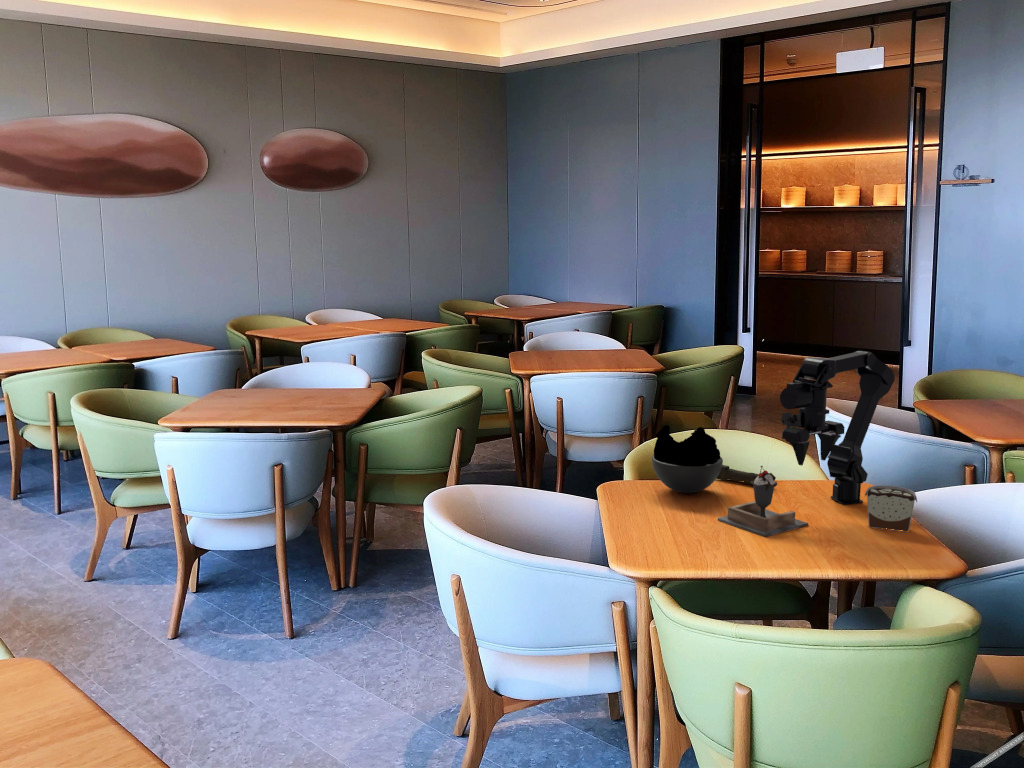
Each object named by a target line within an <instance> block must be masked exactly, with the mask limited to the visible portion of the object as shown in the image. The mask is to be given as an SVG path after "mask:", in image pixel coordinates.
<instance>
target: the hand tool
mask: <svg viewBox="0 0 1024 768" xmlns="http://www.w3.org/2000/svg"><path fill="white" fill-rule="evenodd" d="M758 474H759V473H754V472H747V471H742V470H737V469H733V468H730V466H729V465H724V464H722V468H721V471H720V473H719V475H718V477H717V478H716V480H720V481H733V482H738V481H744V482H741V483H743V484H746V485H747V484H748V485H752V486H753V484H752V483H751V481H754V480H755V479H756V478H757V477H758Z"/></svg>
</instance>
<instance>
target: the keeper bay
mask: <svg viewBox="0 0 1024 768" xmlns="http://www.w3.org/2000/svg"><path fill="white" fill-rule="evenodd" d="M760 512H761V508H760V507H759V506H758V505H757V504H756V502H755V500H753V501H750V502H749V501H748V502H746V503H741V504H738V505H733V506H728V507H727V515H725V516H720V517H717V521H719V522H721V523H725V524H727V525H730V526H732V527H735V528H739V529H742V530H744V531H747V532H750V533H752V534H756V535H758V536H761V537H764V538H768V537H771V536H773V535H774V536H775V535H778V534H781V533H784V532H785V533H786V532H788V531H793V530H797V529H800V528H803V527H806V526H809V522H806V521H803V520H801V519H797V518H796V511H794V510H790V511H786V512H782V513H778V512H775V511H772V510H770V509H767V508H765V516H766V518H764V517H761V516H759V515H760Z"/></svg>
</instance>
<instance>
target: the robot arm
mask: <svg viewBox="0 0 1024 768" xmlns="http://www.w3.org/2000/svg"><path fill="white" fill-rule="evenodd" d="M851 370H852V371H853V370H855V372H856V374H857V375H858V376H859V382H858V384H859V389H860V396H859V398H858V400H857V403H856V405H855V409H854V410H853V413H852V417H851V419H850V421H849V423H848V427H847V430H846V432H845V426H844V424H843V423H842V422H839V421H838V422H837V421H833V420H826V417H827V415H828V414H830V409H827V398H828V397H827V395H828V389H830V388H831V389H832V388H833V387H834V386H833V384H832V383H831V382H830V381H829V380H832V379H834V378H835V377H836V376H837V374H839V373H843V372H848V371H851ZM895 379H896V376H895V373H894V372H893V369H892V368H890V367H889V366H888V364H886V363H884V362H883V361H882V360H880V359H879V358H877V356H876V355H875V354H874V353H873V352H871V351H865V350H857V351H853V352H851V353H846V354H842V355H837V356H833V357H828V358H827V357H813V356H811V357H810V356H809V357H806V358H804V360H803V362H802V363H801V366H800V367H799V368H798V370H797V372H796V374H795V376H794V378H793V380H792V382H787V383H786V387H785V388H784V389H782V391H780V392H781V393H780V395H779V401H780V403H781V406H782V407H783V408H784V409H786V410H794V409H795V410H796V409H798V413H796V414H792V412H790V411H787V412H783V413H782V414H781V419H780V422H781V423H782V425H783V426H786V427H785V428H784V429H783V430H782V431H781V438H782V440H785V442H787V443H789V444H790V445H791V447H792V449H793V452H794V454H795V458H796V461H797V465H799V466H801V467H802V466H803V465H804V462H805V461H806V460H805V459H806V456H807V453H808V449H809V447H810V441H808V440H809V439H810V436H815V435H817V437H818V438H819V440H820V441H819V442H820V443H819V445H820V460H821V461H826V459H827V463H826V464H827V468H828V472H829V477H830V478H834V483H833V484H832V495H831V496H830V499H832V500H834V501H836V502H837V503H839V504H841V505H850V504H863V503H864V500H862V499H861V487H862V484H863V483H864V482H866V481H867V480H868V475H869V474H868V472H867V471H866V469H865V468H864V467H863V466H862V464H863V460H864V458H863V457H864V456H863V454H862V453H863V452H862V446H863V443H864V441H865V437H866V436H867V432H868V429H869V427H870V425H871V422H872V420H873V417H874V414H875V412H876V408H877V406H878V403H879V402H880V400H881V399H883V397H884V396H886V395H887V394H888V393H889V391H891V388H892V386H893V384H894V382H895ZM842 435H844V437H843V439H842V441H841V442H839V444H836V443H837V442H838V440H839V439H841V438H842Z"/></svg>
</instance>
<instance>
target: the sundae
mask: <svg viewBox="0 0 1024 768" xmlns="http://www.w3.org/2000/svg"><path fill="white" fill-rule="evenodd" d="M762 470H763V471H762ZM757 474H758V477H757V478H756V479H755V480H754V481H751V483H752V484H753V485H752V486H753V496H754V501H755V502H756V504H757V505H758V506H759V507H760V508H761V512H760V515H759V516H761V517H764V518H766V516H765V509H767V508H768V507H769V506H770V505H771V503H772V501H773V495H774V490H775V487H777V486H778V482H777V481H776V476H775V475H774V474H773V473H772V472H769V471H767V470H765V469H764V467H763V465H760V472H759V473H757Z"/></svg>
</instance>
